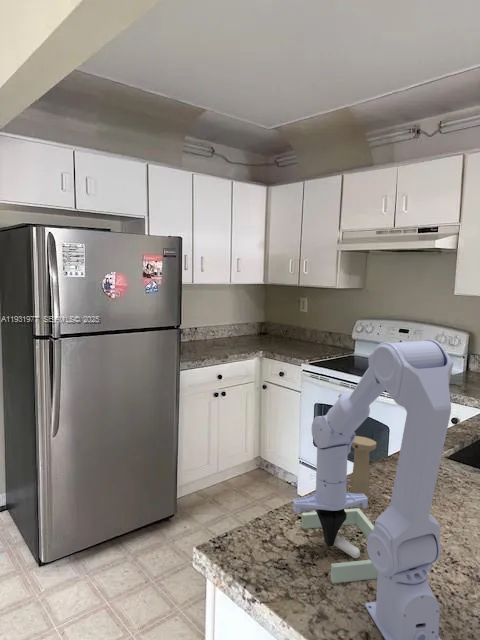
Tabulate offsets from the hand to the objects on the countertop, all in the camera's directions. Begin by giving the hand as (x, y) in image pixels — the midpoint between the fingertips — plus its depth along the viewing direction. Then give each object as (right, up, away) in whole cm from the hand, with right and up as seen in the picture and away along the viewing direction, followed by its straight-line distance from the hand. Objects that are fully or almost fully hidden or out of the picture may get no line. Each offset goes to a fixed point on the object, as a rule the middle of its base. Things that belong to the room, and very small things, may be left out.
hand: (328, 543), depth 88 cm
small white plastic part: (+3, -2, -1) cm, 4 cm away
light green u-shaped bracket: (+3, -1, +1) cm, 4 cm away
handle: (+11, 0, +19) cm, 22 cm away
